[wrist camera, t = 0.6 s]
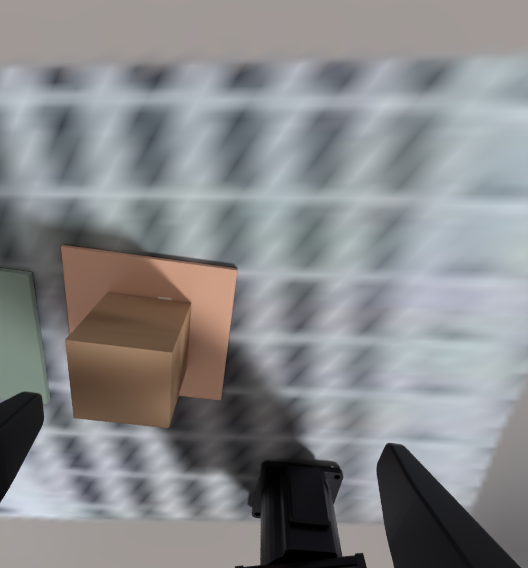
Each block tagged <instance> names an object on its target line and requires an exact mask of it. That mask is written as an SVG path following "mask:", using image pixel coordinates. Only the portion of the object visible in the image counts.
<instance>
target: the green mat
mask: <svg viewBox="0 0 528 568" xmlns="http://www.w3.org/2000/svg"><path fill="white" fill-rule="evenodd" d="M24 391H27V392H34V393H39V394H41V396H42V400H43V404H48V402H49V401H50V394H49V387H48V380H47V373H46V366H45V359H44V352H43V345H42V338H41V331H40V324H39V317H38V310H37V303H36V296H35V289H34V281H33V274H32V272H28V271H20V270H13V269H5V268H0V399H6V400H7V399H9V398H11V397H13V396H15V395H16V394H18V393H21V392H24Z"/></svg>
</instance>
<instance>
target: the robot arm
mask: <svg viewBox="0 0 528 568" xmlns="http://www.w3.org/2000/svg"><path fill="white" fill-rule="evenodd" d="M43 421H44V411H43V400H42V396H41V394H39V393H34V392H27V391H24V392H21V393H18V394H16V395H15V396H13V397H11V398H9V399H7V400H5V401H3V402H1V403H0V502H1V500H2V499H3V497H4V496H5V494H6V493H7V491H8V489H9V488H10V486H11V484H12V482H13V481H14V479H15V477H16V475H17V473H18V471H19V469H20V467H21V465H22V464H23V462H24V460H25V458H26V456H27V454H28V452H29V450H30V448H31V446H32V445H33V443H34V441H35V439H36V437H37V435H38V433H39V431H40V429H41V427H42V425H43ZM377 478H378V485H379V492H380V498H381V505H382V511H383V518H384V525H385V530H386V536H387V539H388V544H389V548H390V552H391V556H392V560H393V564H394V568H521V567H520V566H519V565H518V564H517V563H516V562H515V561H514V560H513V559H512V558H511V557H510V556H509V555H508V554H507V553H506V552H505V551H504V550H503V548H501V546H500V545H499V544H498V543H497V542H496V541H495V540H494V539H493V538H492V537H491V536H490V535H489V534H488V533H487V532H486V531H485V530H484V529H483V528H482V527H481V526H480V525H479V523H478V522H476V521H475V519H474V518H473V517H472V516H471V515H470V514H469V513H468V512H467V511H466V510H465V509H464V508H463V507H462V506H461V505H460V504H459V503H458V502H457V501H456V499H455V498H454V497H453V496H452V495H451V494H450V493H449V492H448V491H447V490H446V489H445V488H444V487H443V486H442V485H441V484H440V483H439V482H438V481H437V480H436V479H435V478H434V477H433V475H432V474H431V473H430V472H429V471H428V470H427V469H426V468H425V467H424V466H423V465H422V464H421V463H420V462H419V461H418V460H417V459H416V458H415V457H414V456H413V455H412V454H411V453H410V451H409V450H408V449H407V448H406V447H405V446H403V445H401V444H395V443H387V444H386V445H385V447H384V450H383V452H382V454H381V456H380V459H379V461H378V463H377ZM342 480H343V473H342V470H341V469H338V468H329V467H319V466H309V465H300V464H290V463H280V462H270V461H266V462H263V463H262V465H261V469H260V473H259V478H258V483H257V488H256V492H255V497H254V502H253V507H252V516H253V517H255V518H261V548H260V551H261V552H260V553H261V554H260V556H261V557H260V565H258V566H249V567H243V566H235V568H367V567H366V563H365V559H364V555H363V553H357V554H355V555H354V556H345V557H342V552H341V546H340V540H339V534H338V529H337V523H336V517H335V512H334V506H333V505H334V502H335V499H336V496H337V494H338V491H339V488H340V485H341V482H342Z"/></svg>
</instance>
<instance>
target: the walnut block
mask: <svg viewBox="0 0 528 568" xmlns="http://www.w3.org/2000/svg"><path fill="white" fill-rule="evenodd" d="M190 316H191V303H188V302H180V301H173V300H165V299H157V298H149V297H141V296H134V295H126V294H118V293H110V292H107V293H106V294H105V295H104V297H103V298H102V299H101V300H100V301H99V302H98V303H97V304H96V306H95V307H94V308H93V309H92V310H91V311H90V312H89V314H88V315H87V316H86V317H85V318H84V319H83V320H82V322H81V323H80V324H79V325H78V326H77V327H76V328H75V329H74V331H73V332H72V333H71V334H70V335H69V336H68V337H67V339H66V340H65V342H66V352H67V361H68V370H69V379H70V388H71V397H72V406H73V416H74V418H78V419H87V420H96V421H106V422H115V423H125V424H134V425H144V426H153V427H163V428H169V426H170V423H171V419H172V416H173V413H174V409H175V406H176V403H177V399H178V396H179V393H180V390H181V386H182V383H183V380H184V376H185V373H186V370H187V360H188V345H189V331H190Z"/></svg>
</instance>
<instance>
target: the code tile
mask: <svg viewBox="0 0 528 568" xmlns="http://www.w3.org/2000/svg"><path fill="white" fill-rule="evenodd" d="M61 252H62V262H63V272H64V281H65V291H66V301H67V311H68V321H69V331H70V334H71V333H72V332H73V331H74V329H75V328H76V327H77V326H78V325H79V324H80V323H81V322H82V320H83V319H84V318H85V317H86V316H87V315H88V314H89V312H90V311H91V310H92V309H93V308H94V307H95V306H96V304H97V303H98V302H99V301H100V300H101V299H102V298H103V297H104V295H105V294H106V293H107V292H110V293H118V294H126V295H134V296H141V297H149V298H157V299H165V300H173V301H180V302H188V303H191V316H190V331H189V345H188V360H187V370H186V373H185V376H184V380H183V383H182V386H181V390H180V393H179V396H186V397H195V398H204V399H213V400H221V397H222V389H223V381H224V373H225V365H226V357H227V349H228V341H229V333H230V325H231V317H232V309H233V301H234V293H235V285H236V277H237V269H238V268H230V267H223V266H216V265H208V264H201V263H194V262H186V261H179V260H171V259H164V258H157V257H149V256H142V255H134V254H127V253H120V252H112V251H105V250H97V249H90V248H83V247H75V246H68V245H63V246H61Z"/></svg>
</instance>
